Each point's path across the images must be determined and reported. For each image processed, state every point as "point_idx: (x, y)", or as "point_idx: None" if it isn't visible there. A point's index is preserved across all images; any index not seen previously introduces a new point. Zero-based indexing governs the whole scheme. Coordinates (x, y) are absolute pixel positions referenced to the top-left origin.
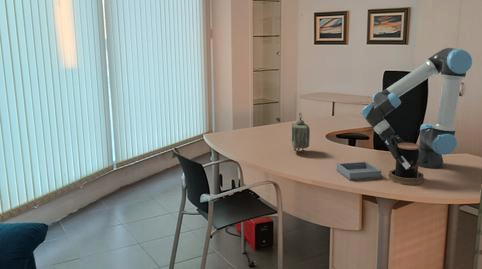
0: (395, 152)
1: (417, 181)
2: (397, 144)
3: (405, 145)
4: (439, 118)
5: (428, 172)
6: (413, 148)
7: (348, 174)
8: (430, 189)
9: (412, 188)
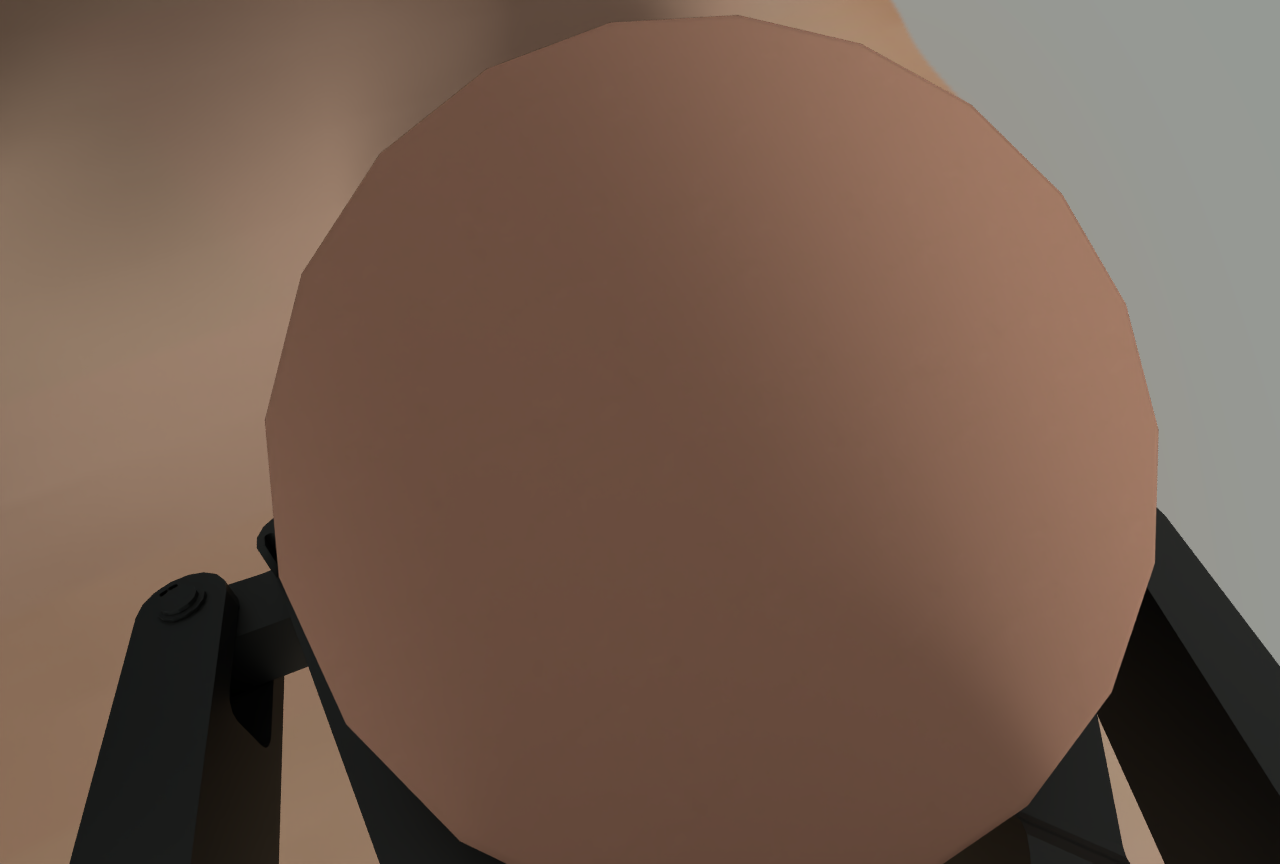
0: (1210, 589)
1: None
2: (960, 846)
3: (881, 490)
4: None
5: (174, 384)
6: (967, 128)
7: None
8: None
9: None
